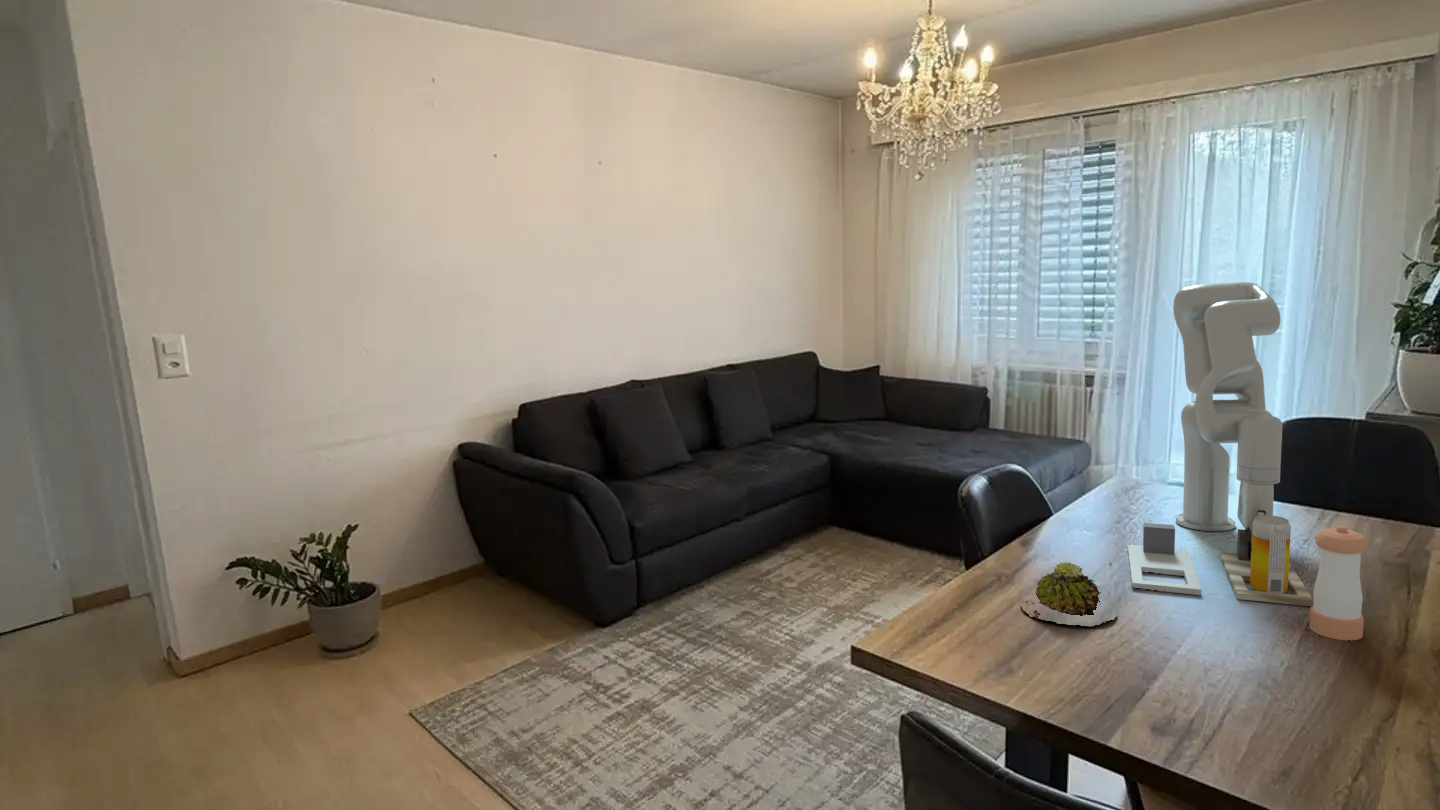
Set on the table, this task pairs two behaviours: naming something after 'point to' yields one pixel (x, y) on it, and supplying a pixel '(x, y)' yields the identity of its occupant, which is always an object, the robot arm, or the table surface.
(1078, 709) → the table surface
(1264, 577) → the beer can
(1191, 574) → the white board with cutout
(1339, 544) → the pepper shaker
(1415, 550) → the table surface
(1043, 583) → the cactus
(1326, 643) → the table surface
